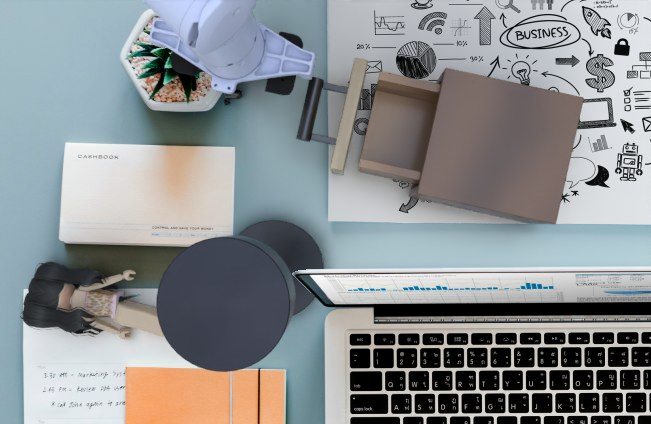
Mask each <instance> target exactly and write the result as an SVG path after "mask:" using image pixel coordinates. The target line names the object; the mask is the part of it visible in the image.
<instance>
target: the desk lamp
mask: <svg viewBox="0 0 651 424" xmlns="http://www.w3.org/2000/svg"><path fill="white" fill-rule="evenodd" d="M322 254H323V253H322V251H321V249H320V247H319V245H318V244H317V242H316V240H315V239H314V238H313V237H312V235H311V234H310V233H309V232H308V231H306V230H305V229H304V228H302V227H301V226H299V225H297V224H295V223H293V222H291V221H290V222H289V221H287V220H280V219H270V220H269V219H268V220H263V221H259V222H255V223H253V224H251V225H249V226H247V227H246V228H245V229H243V230H242V231H241V232H240V233H239V234H238V235H223V236H215V237H210V238H206V239H202V240H200V241H197V242H194V243H193V244H191V245H189V246H187V247H185V249H183V250H181V251H180V252H179V253H178V254H177V255H176V256H175V257H174V258H173V259H172V261H170V263H169V264H168V265H167V267H166V269H165V271H164V272H163V274H162V276H161V278H160V281H159V284H158V288H157V293H156V303H155V305H156V306H155V308H157V317H158V321H159V325H160V327H161V330H162V333H163V334H164V336H163V337H164V338H165V340H166V342H167V344H168V345H169V346H170V347H171V348H172V349H173V350H174V352H175V353H176V354H177V355H179V356H180V357H181V358H182V359H183V360H185V361H186V362H188V363H189V364H191V365H193V366H195V367H198V368H200V369H204V370H207V371H211V372H218V373H228V372H236V371H240V370H245V369H247V368H249V367H253V366H254V365H256V364H257V363H259V362H261V361H263V359H265V358H266V357H267V356H268V355H270V353H271V352H272V351H273V350H274V349H275V348H276V347H277V346H278V344H279V343H280V341H281V339H282V338H283V336H284V335H285V333H286V331H287V329H288V328H289V325H290V324H291V320H292V319H293V317H294V316H295V315H297V314H300V313H301V312H302V311H304V310H305V309H306V308H307V307H309V306H310V305H311V303H312V302H313V301H314V300H315V298H316V297H315V296H314V295H313V294H312V293H310V292H309V291H308V290H307V289H306V288H305V287H304V286H303V285H302V284H301V283H300V282H299V281H298V280H297V279H296V278H295V277H294V276H293V275H292V273H293V272H295V271H298V270H306V269H325V266H324V259H323V255H322Z"/></svg>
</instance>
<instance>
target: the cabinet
mask: <svg viewBox="0 0 651 424" xmlns="http://www.w3.org/2000/svg"><path fill="white" fill-rule="evenodd" d="M435 83H437V84H441V86H440V91H439V95H438V100H437V104H436V109H435V113H434V117H433V122H432V126H431V131H430V135H429V140H428V144H427V149H426V153H425V158H424V162H423V166H422V171H421V175H420V180H419V184H418V185H416V184H412V183H410V189H409V192H408V193H409V194H408V197H409V198H413V199H417V200H422V201H425V202H430V203H435V204H440V205H443V206H447V207H451V208H457V209H462V210H467V211H471V212H473V213H474V212H475V213H479V214H484V215H488V216H493V217H497V218H502V219H507V220H511V221H514V222H520V223H524V224H529V225H556V224H557V221H558V216H559V211H560V208H561V203H562V199H563V193H564V190H565V185H566V180H567V176H568V171H569V166H570V163H571V158H572V154H573V150H574V149H573V148H574V146H575V145H574V144H575V140H576V136H577V132H578V127H579V124H580V123H579V122H580V117H581V113H582V108H583V104H584V100H585V98H584V97H583V96H580V95H579V96H578V95H574V94H570V93H566V92H565V93H564V92H560V91H556V90H550V89H546V88H542V87H537V86H532V85H528V84H523V83H518V82H514V81H510V80H505V79H501V78H500V79H499V78H496V77H491V76H490V77H489V76H487V75H481V74H477V73H472V72H468V71H463V70H458V69H454V68H448V67H445V68H444V69H443V72H442V73H441V74H440V76H439V78H438V79H437V80H436V82H435Z"/></svg>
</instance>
